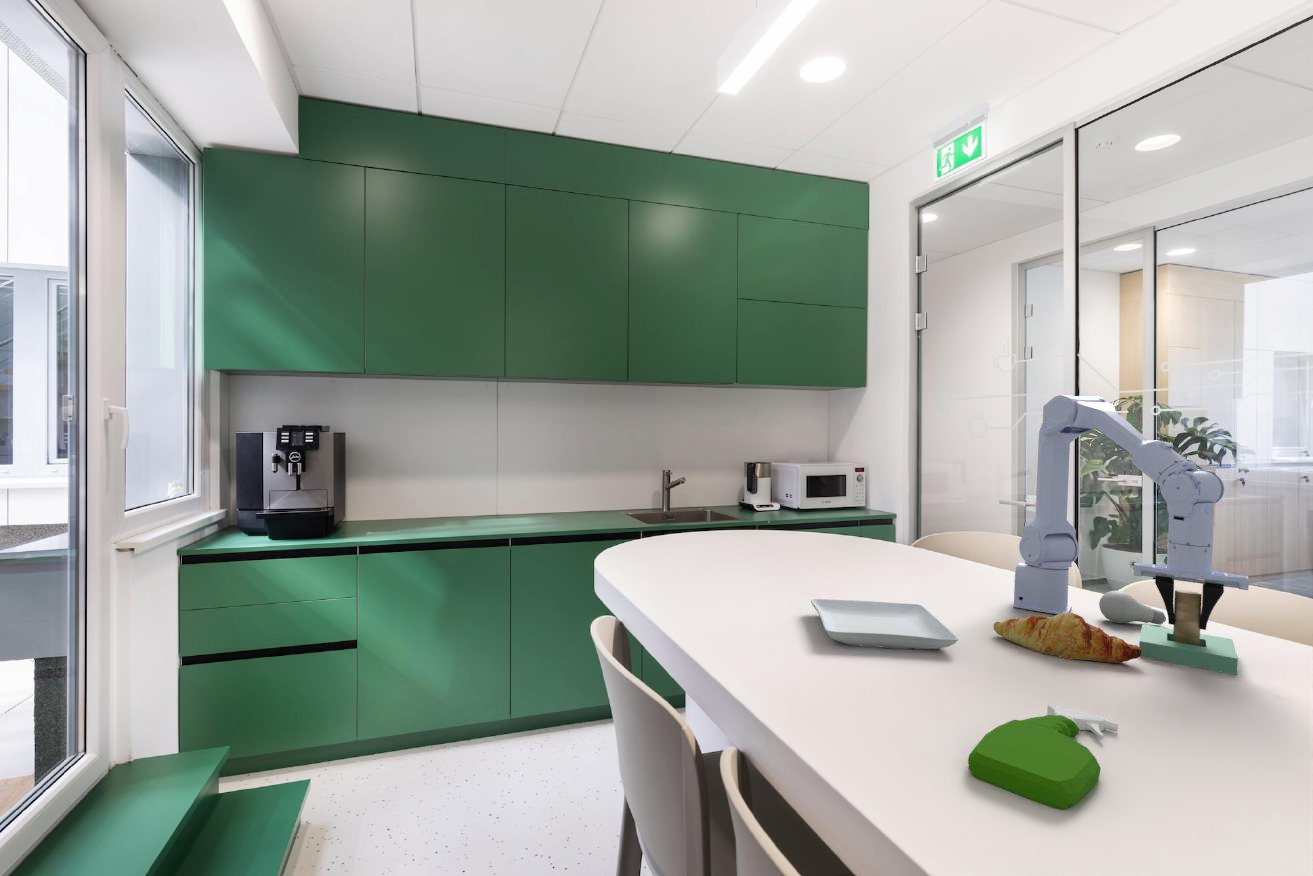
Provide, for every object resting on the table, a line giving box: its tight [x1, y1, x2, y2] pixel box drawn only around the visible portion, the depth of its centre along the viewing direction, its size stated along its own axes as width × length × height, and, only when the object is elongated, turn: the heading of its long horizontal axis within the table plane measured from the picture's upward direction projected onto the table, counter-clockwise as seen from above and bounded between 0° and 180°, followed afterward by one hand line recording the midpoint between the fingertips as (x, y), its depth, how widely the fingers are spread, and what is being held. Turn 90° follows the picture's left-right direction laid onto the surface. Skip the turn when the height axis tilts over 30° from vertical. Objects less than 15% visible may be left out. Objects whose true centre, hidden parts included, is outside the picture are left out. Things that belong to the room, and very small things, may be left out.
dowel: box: [1173, 589, 1202, 646], centre depth 107 cm, size 3×3×9 cm
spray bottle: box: [967, 703, 1119, 810], centre depth 74 cm, size 3×11×24 cm
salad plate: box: [810, 598, 959, 650], centre depth 116 cm, size 21×21×3 cm
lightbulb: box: [1098, 590, 1167, 626], centre depth 125 cm, size 6×6×11 cm
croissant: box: [993, 611, 1141, 663], centre depth 108 cm, size 21×10×8 cm, turn 49°
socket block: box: [1138, 623, 1239, 675], centre depth 107 cm, size 12×12×2 cm
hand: (1186, 625), depth 107 cm, fingers closed on dowel, 3 cm apart
